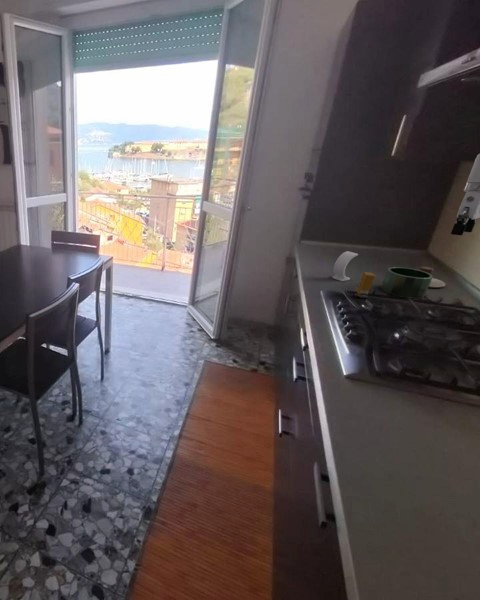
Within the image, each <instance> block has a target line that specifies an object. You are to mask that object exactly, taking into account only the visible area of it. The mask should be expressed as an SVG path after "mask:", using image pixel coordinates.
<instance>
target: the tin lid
mask: <svg viewBox="0 0 480 600" xmlns="http://www.w3.org/2000/svg"><path fill="white" fill-rule="evenodd" d="M419 270H421V271H424V272H427V273H429V274H431V275H432V276H433V272H434V271H435V270H434V268H433V267H430V266H421V267H420V269H419ZM446 285H447V284H446V283H445V281H443V280H441V279H438V278H434V277H433V278H432V280H431V283H430V285H429V287H428V288H439V289H440V288H444V287H446Z"/></svg>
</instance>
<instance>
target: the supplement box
mask: <svg viewBox="0 0 480 600" xmlns="http://www.w3.org/2000/svg"><path fill="white" fill-rule="evenodd" d="M375 278H376V274H374V273H373V272H367V271H364V272H363V273H362V276H361V278H360V281H359V284H358V286H357V289H356V292H357V293H358V294H367V295H368V296H369V293H370V290H371V288H372V287H373V283H374V281H375ZM356 292H355V296H356V295H357V294H356Z"/></svg>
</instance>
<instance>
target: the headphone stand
mask: <svg viewBox="0 0 480 600" xmlns="http://www.w3.org/2000/svg"><path fill="white" fill-rule="evenodd" d="M358 256H359V253H356V252H352V251H349V250H348V251H344V252H343V253H342V254H340V255H339V257H338V258H337V259H336V261H335V263H334V265H333V274H334V275H332V277H331V278H332V279H335V280H337V281H340V282H345V281H350V280H351V277H348V276H346V268H347V266H348V264H349V263H350V261H351V260H353V258H355V257H358Z"/></svg>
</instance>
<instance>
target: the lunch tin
mask: <svg viewBox="0 0 480 600" xmlns="http://www.w3.org/2000/svg"><path fill="white" fill-rule="evenodd" d="M432 278H434V276H433V274H432V275H431V274H429V273H427V272H424V271H421V270H420V269H416V268H410V267H402V266H391V267H388V268H387V269H386V273H385V275H384V278H383V281H382V283H381V287H380V289H381V291H383V292H384V293H386V294H389V295H391V296H395V297H398V298H399V297H400V298H405V299H412V300H415V299H423V298H424V297H425V296H426V294H427V292H428V289H429V288H430V287H429V285H430V283H431V280H432Z"/></svg>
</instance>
